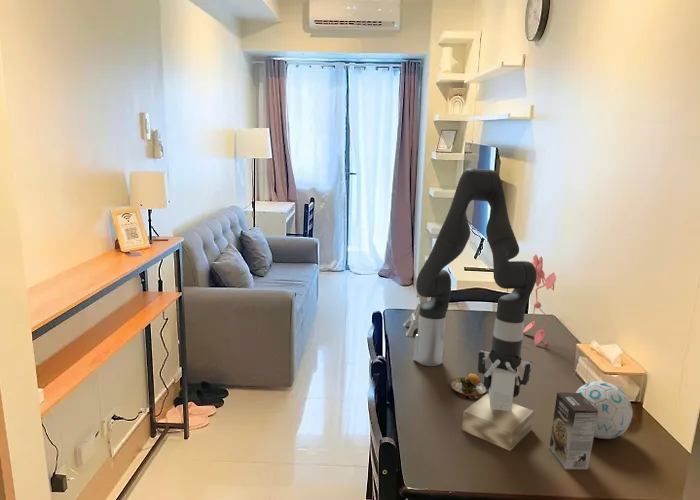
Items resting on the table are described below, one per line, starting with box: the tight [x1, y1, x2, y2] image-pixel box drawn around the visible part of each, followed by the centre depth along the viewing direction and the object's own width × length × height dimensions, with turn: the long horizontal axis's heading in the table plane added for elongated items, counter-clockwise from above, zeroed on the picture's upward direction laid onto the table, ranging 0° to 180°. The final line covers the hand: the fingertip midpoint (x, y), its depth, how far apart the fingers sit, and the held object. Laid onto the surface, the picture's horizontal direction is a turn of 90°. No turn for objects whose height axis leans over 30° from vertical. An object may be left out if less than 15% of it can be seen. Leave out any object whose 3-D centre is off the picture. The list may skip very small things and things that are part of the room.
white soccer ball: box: [574, 380, 634, 440], centre depth 145 cm, size 15×15×15 cm
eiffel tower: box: [403, 259, 429, 337], centre depth 214 cm, size 13×13×30 cm
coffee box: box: [549, 391, 598, 470], centre depth 133 cm, size 9×6×16 cm
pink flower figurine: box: [521, 254, 557, 349], centre depth 210 cm, size 15×26×35 cm, turn 2°
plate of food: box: [449, 373, 489, 400], centre depth 168 cm, size 12×12×8 cm
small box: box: [488, 362, 516, 411], centre depth 144 cm, size 8×6×10 cm
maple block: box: [461, 393, 535, 452], centre depth 146 cm, size 14×14×6 cm
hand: (501, 392), depth 144 cm, fingers closed on small box, 6 cm apart
